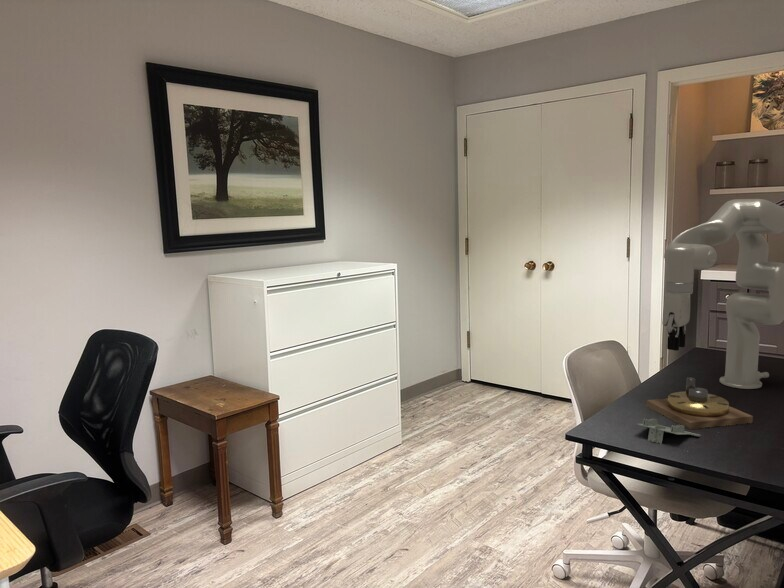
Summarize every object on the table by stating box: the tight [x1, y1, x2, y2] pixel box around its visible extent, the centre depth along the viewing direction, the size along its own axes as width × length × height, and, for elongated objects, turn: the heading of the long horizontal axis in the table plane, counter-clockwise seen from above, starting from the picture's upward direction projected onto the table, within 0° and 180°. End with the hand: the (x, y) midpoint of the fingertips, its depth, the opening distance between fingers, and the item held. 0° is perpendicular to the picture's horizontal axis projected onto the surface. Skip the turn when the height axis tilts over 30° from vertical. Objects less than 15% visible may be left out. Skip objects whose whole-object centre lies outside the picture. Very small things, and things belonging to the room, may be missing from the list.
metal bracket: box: [636, 418, 702, 445], centre depth 163 cm, size 14×6×15 cm
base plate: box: [645, 397, 754, 430], centre depth 178 cm, size 20×20×2 cm
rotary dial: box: [667, 376, 730, 416], centre depth 177 cm, size 16×16×7 cm
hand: (676, 347), depth 180 cm, fingers open, 4 cm apart
